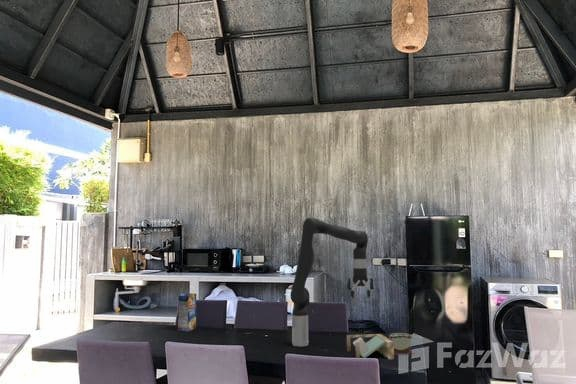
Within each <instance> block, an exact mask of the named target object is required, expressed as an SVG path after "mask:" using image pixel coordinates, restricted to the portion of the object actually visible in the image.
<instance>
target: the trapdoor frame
mask: <svg viewBox="0 0 576 384" xmlns="http://www.w3.org/2000/svg"><path fill="white" fill-rule="evenodd" d="M375 336H378V337H379V338H381V339H382V340H384V341H385V342H386V343H385V344H384V345H382V346H381V347H379V348H378V349H377V350H376V351H377V352H378V351H379V354H381V355H382V354H383V355H382V356H383V357H384V358H386V357H387V358H388V359H387V358H386V359H387V360H395V354H394V342H393V341H391V339H389V337H387V336H385V335H383V334H381V333H375V334H373V333H372V334H370V333H369V334H346V352H351V350H352V349H351V348H352V346H351V345H352V343H351V339H353V338H357V339H358V338H359V337H361V338H373V337H375ZM356 358H360V359H361V355H360V345H359V342H356V347H355V359H356Z"/></svg>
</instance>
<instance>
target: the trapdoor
mask: <svg viewBox="0 0 576 384" xmlns="http://www.w3.org/2000/svg"><path fill="white" fill-rule="evenodd" d="M385 343H386V342H385V341H384V340H382V339H381V338H379V337H378V336H375V337H371V339H369V340H368V341H366V342H365V344H366V345H367V347H368V348H369V349H368V350H366V351H365V352H364V353H362V354H360V357H362V358H363V359H364V358H365V359H366V358H368V357H369V356H370V355H371V354H373V353H374V352H376V351H377V349H378V348H379V347H381V346H382V345H384V344H385Z"/></svg>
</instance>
